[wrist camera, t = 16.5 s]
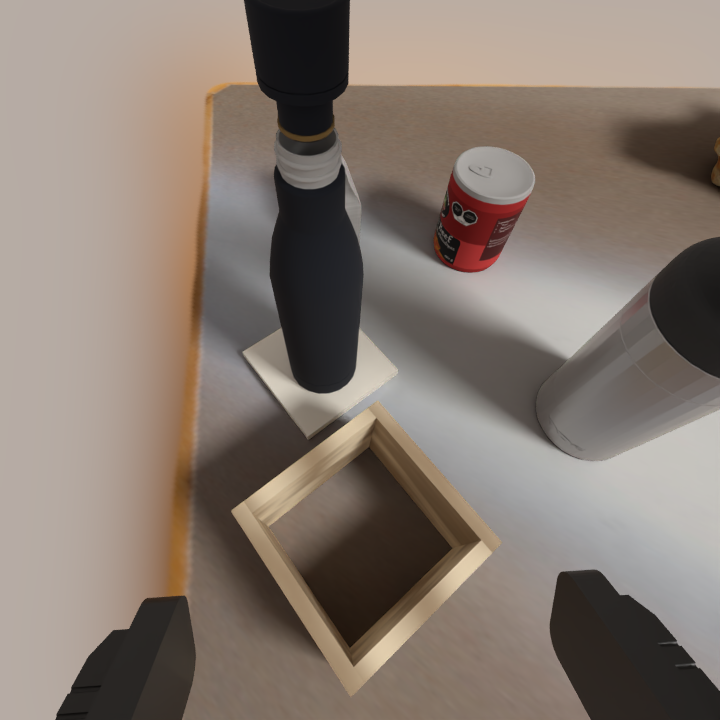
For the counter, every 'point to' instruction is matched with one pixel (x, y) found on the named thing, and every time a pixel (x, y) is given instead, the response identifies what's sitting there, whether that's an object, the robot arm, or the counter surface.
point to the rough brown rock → (719, 170)
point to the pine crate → (428, 493)
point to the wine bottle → (310, 186)
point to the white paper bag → (352, 202)
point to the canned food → (481, 207)
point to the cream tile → (308, 406)
